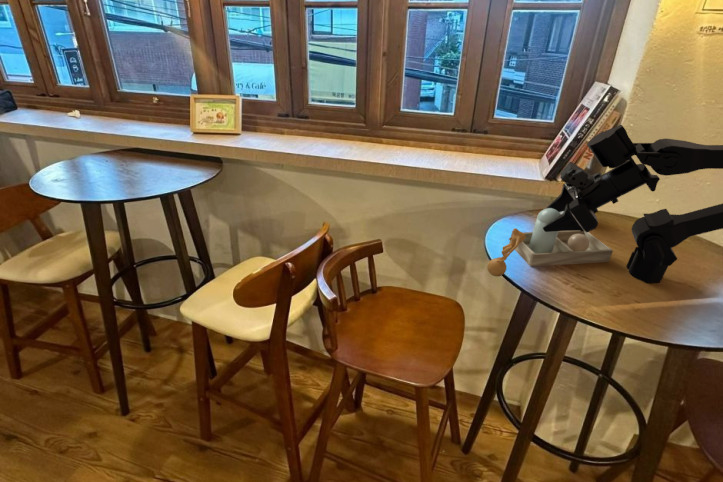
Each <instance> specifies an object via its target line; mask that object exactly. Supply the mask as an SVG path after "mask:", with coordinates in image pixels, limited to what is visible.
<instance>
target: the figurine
mask: <svg viewBox="0 0 723 482" xmlns="http://www.w3.org/2000/svg"><path fill="white" fill-rule="evenodd" d="M512 233H513V236H512V237H511V236H510V237H509V238H508V241H510V239H512V241H511V243H509V242H508V243H507V244H506V245H504V246H503V247H502V250H501V255H502V256H498V257H497V258H496V257H495V258H492V259H490V260H489V261H488V263H487V265H486V267H487V271H488V273H489V275H491V276H494V277H501V276H503V275H504V274H506V271H507V264H506V262H505V261H506V260H507V259H508V258H509V256H510V254H512V253H513V252H514V251H515V249H516V248H517V247H518V245H519V244H520V243H521V242H523V241H524V240H525V238H526V235H525V233H524V232H523V231H520V230H518V228H513V229H512V230H511V234H512Z"/></svg>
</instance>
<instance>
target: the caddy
mask: <svg viewBox="0 0 723 482" xmlns="http://www.w3.org/2000/svg"><path fill="white" fill-rule="evenodd" d="M523 233H525V235H526V238H525V240H524V241H523V242H521V243H520V244H519V245H518V247H517V248H516V249H515V250H514V251H515V252H516V253H517V254H518V255H519V256H520V257H521V258H522V260H524V262H525V263H526V264H527V265H528V266H529V267H541V266H545V267H546V266H560V265H563V266H564V265H574V264H575V265H578V264H579V265H580V264H593V263H609V262H610V259H611V257H612V254H613V252H614V250H613V249H612V248H611V247H609V246H608V245H606V244H605V243H603V242H602V241H601V240H599V238H597V237H596V236H594V235H593V234H592V233H590V232H585V230H584V231H582V232H581V231H580V230H574V231H559V232H558V235H557V238H556V241H555V245H554V248H553V251H552V252H551V253H534V252H533V251H532V250H531V249H530V248H529V244H530V241H531V237H532V234H533V231H529V232H527V231H526V232H523ZM574 234H583V235H585V236H586V237H587V238H588V239H589V247H588V249H587V250H586V251H573V250H571V249H570V248H569V247H568V239H569V238H570V237H571V236H572V235H574ZM512 236H513V233H512V232H511V235H510V238H511V237H512ZM511 241H512V239H510V240H509V242H508V244H509V243H511Z"/></svg>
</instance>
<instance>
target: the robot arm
mask: <svg viewBox="0 0 723 482" xmlns="http://www.w3.org/2000/svg"><path fill="white" fill-rule="evenodd" d="M586 145H587V147H588V149H589V150H590V152H591V153H592V154H593V155H594V157H595V158H596V160H597V161H598V163H599V164H600V166H601V167H602V168H607V167H608V169H610V170H608V171H607V172H604V173H601V172H596V173H594V174H591V173H590V172H588V171H587V170H585V169H583V168H582V167H581V166H579V165H577V164H575V163H574V162H572V161H569V162H568V163H567V164H566V166H565V167H564V168H563V169H562V170H561V171H560V172H559V175H560V176H559V178H560V179H561V181H562V182H564V183H563V184H562V188H561V193H560V194H559V195H558V196H557V197H556V198H554V200H553V201H552V202H551V203H550V204H549V205H548V206H546V208H553V209H556V210H557V211H559V212H562V211H564V213H563V214H561V215H560V216H558V217H557V218H556V219H554V220H553V221H551V222H550V223H548V224H547V225H546V226H544V227H543V230H544V231H545V232H553V231H574V230H580V231H581V232H582V231H584V230H585V232H589V233H590V232H591V231H594V230H595V229H597V226H598V224H599V222H598V218H597V215H596V213H598V212H599V210H598V209H599V208H600V207H603V206H604V205H607V204H609V203H610V202H612V204H614V205H615V204H616V203H618V202H619V200H618V198H620V197H622V196H624V195H626V194H628V193H630V192H632V191H634V190H636V189H639V188H640V187H642V186H645V185H646V186H647V187H648V189H649V190H650V192H655V191H656V189H657V185H658V183H659V181H660V180H661V179H660V177H659V176H658V175H660V176H665V177H666V176H668V177H669V176H674V175H675V176H676V175H683V174H684V175H685V174H689V173H693V172H696V171H697V172H698V171H699V170H709V169H715V170H716V169H717V170H719V169H720V170H721V169H722V170H723V144H701V143H695V142H692V141H686V140H683V139H682V140H680V139H673V138H659V139H657V140H655V141H654V142H633V141H632V139H631V138H630V137H629V135H628V132H627V130H626V129H625V127H624V126H623V124H619V125H617V126H616V127H612V128H609V129H606V130H605V131H601V132H599V133H598V134H596V135H595V136H594V137H592V138H591V139H589V140H588V142H587V144H586ZM634 156H636V158H637V160H639V162H640V163H637V162H635V160H634V159H633V157H634ZM647 166H649V167H651V169H652V170H653V171H654V172H655V173H656V174H652V173H651V172H650V170H649V169H648V167H647ZM657 174H658V175H657ZM565 183H566V185H567V186H566V185H565ZM546 208H544V209H546ZM722 229H723V203H719V204H715V205H712V206H708V207H705V208H704V207H703V208H700V209H697V210H694V211H689V212H686V213H683V214H681V213H680V214H671V213H670V212H669V211H668V209H667V208H663V209H659V210H657V211H655V212H650V213H643V216H642V217H639V218H638V219H636V220H635V221H634V223H633V224H632V226H631V234H632V237H633V239H634V241H635V243H636V247H635V248H634V251H632V252H631V254H630V256H629V259H628V260H627V263H626V266H625V267H626V269H627V271H628V274H629V275H630V276H632V277H633V278H634V279H636V280H638V281H642V282H644V283H645V284H648V285H649V284H660V283H661V282H662V279H663V277H664V276H665V273H666V271H667V270H668V268H669V267H670V266H672V265H673V264H674V263H675V262H676V261H677V260H678V256H676V254H675V252H674V250H673V248H675V247H677V246H678V245H680V244H682V243H683V242H684V241H686V240H687V239H688V238H691V237H694V236H698V235H702V234H706V233H710V232H715V231H719V230H722Z"/></svg>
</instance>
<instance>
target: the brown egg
mask: <svg viewBox="0 0 723 482" xmlns="http://www.w3.org/2000/svg"><path fill="white" fill-rule="evenodd" d="M568 247H569V248H570V249H571V250H573V251H586V250H587V249H588V247H589V239H588V238H587V237H586V236H585V235H583V234H574V235H572V236H571V237H570V238H569V239H568Z"/></svg>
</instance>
